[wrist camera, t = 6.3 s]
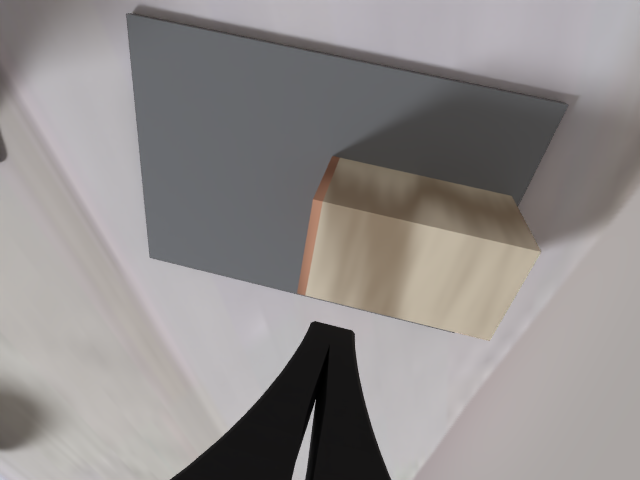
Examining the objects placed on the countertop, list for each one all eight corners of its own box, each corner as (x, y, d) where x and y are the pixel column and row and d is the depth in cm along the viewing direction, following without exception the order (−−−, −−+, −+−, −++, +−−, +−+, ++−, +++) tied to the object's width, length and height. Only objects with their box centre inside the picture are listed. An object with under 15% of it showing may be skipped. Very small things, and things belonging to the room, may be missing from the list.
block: (297, 293, 18) (489, 340, 18) (312, 199, 16) (541, 252, 15) (316, 237, 23) (473, 274, 22) (332, 155, 20) (511, 195, 19)
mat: (152, 254, 26) (149, 257, 26) (131, 13, 18) (126, 13, 18) (453, 328, 25) (454, 333, 24) (565, 102, 17) (568, 105, 17)
